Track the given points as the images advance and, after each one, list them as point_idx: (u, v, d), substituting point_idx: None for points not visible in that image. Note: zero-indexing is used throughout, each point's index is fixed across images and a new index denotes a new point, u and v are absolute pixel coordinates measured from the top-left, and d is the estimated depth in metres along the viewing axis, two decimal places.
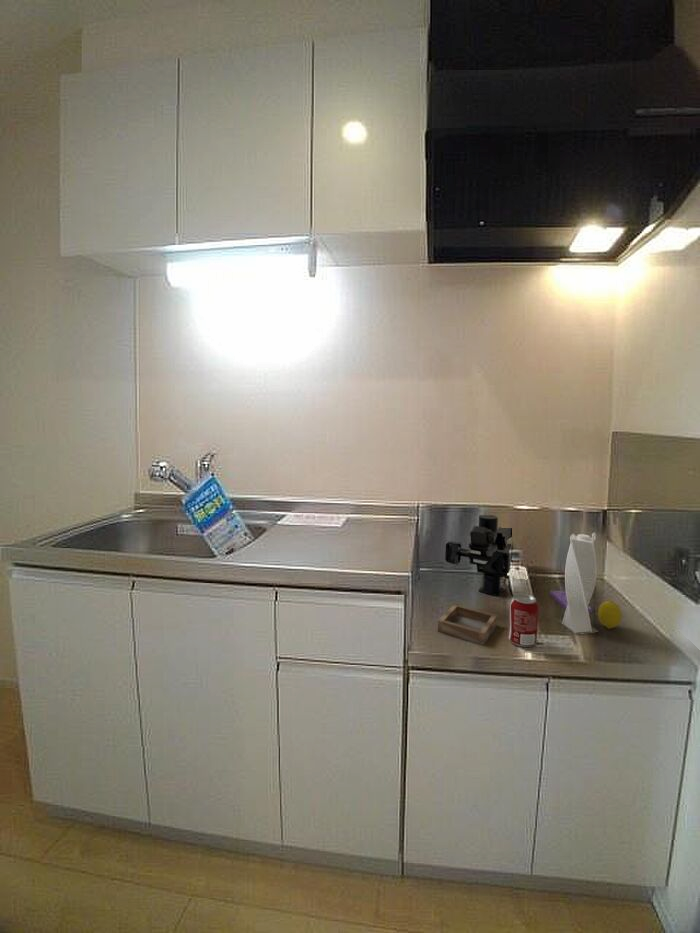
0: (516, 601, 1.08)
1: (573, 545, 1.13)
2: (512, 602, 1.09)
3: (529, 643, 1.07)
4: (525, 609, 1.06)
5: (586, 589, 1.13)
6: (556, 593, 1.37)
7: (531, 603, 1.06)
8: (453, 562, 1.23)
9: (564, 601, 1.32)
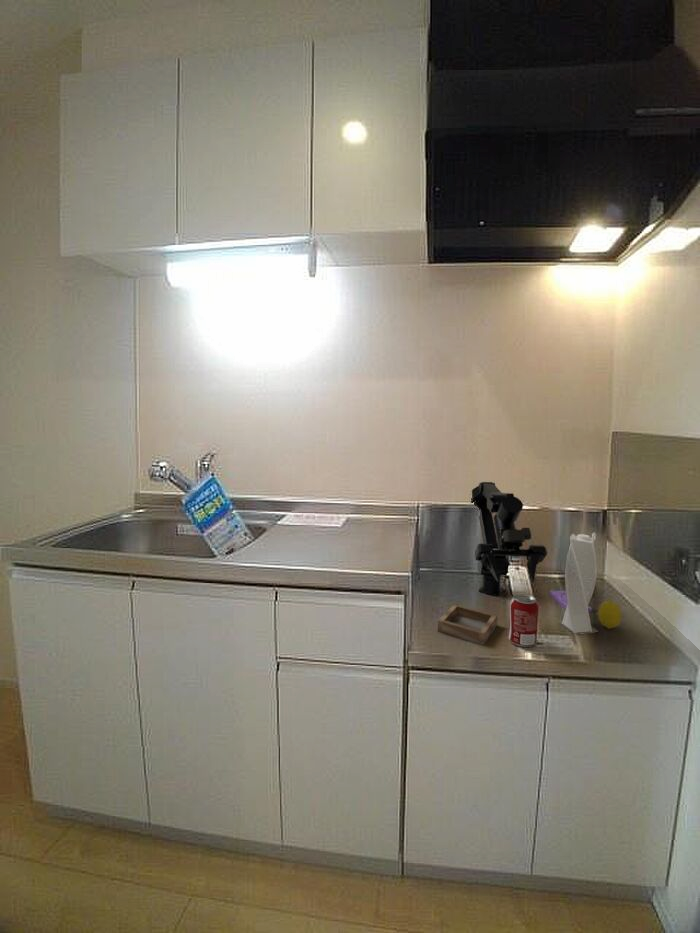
0: (516, 601, 1.08)
1: (573, 545, 1.13)
2: (512, 602, 1.09)
3: (529, 643, 1.07)
4: (525, 609, 1.06)
5: (586, 589, 1.13)
6: (556, 593, 1.37)
7: (531, 603, 1.06)
8: None
9: (564, 601, 1.32)
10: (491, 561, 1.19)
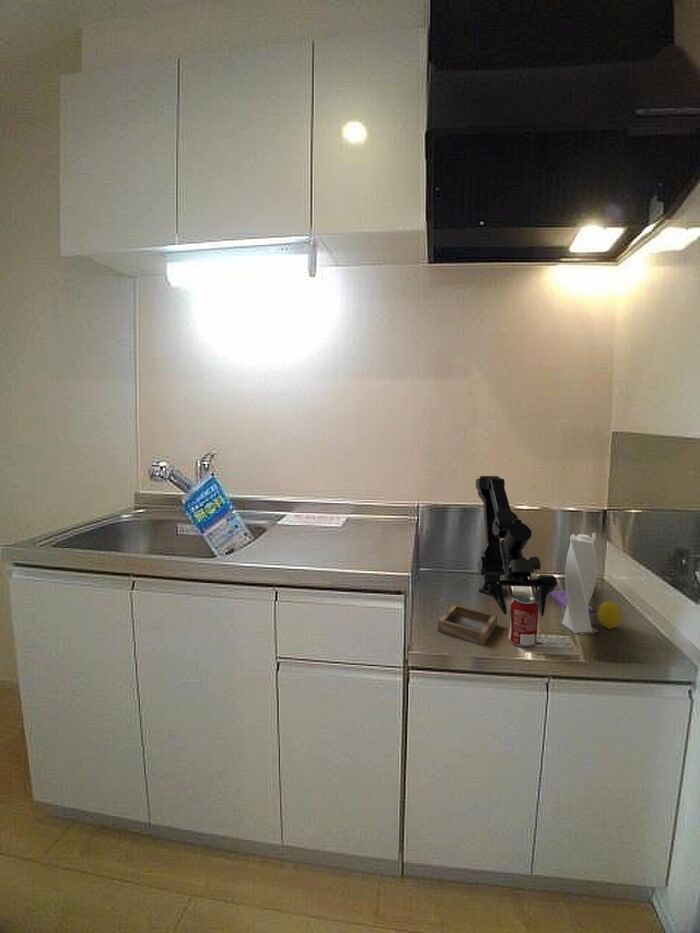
0: (516, 601, 1.08)
1: (573, 545, 1.13)
2: (512, 602, 1.09)
3: (529, 643, 1.07)
4: (525, 609, 1.06)
5: (586, 589, 1.13)
6: (555, 593, 1.37)
7: (531, 603, 1.06)
8: None
9: (564, 601, 1.32)
10: (498, 592, 1.11)
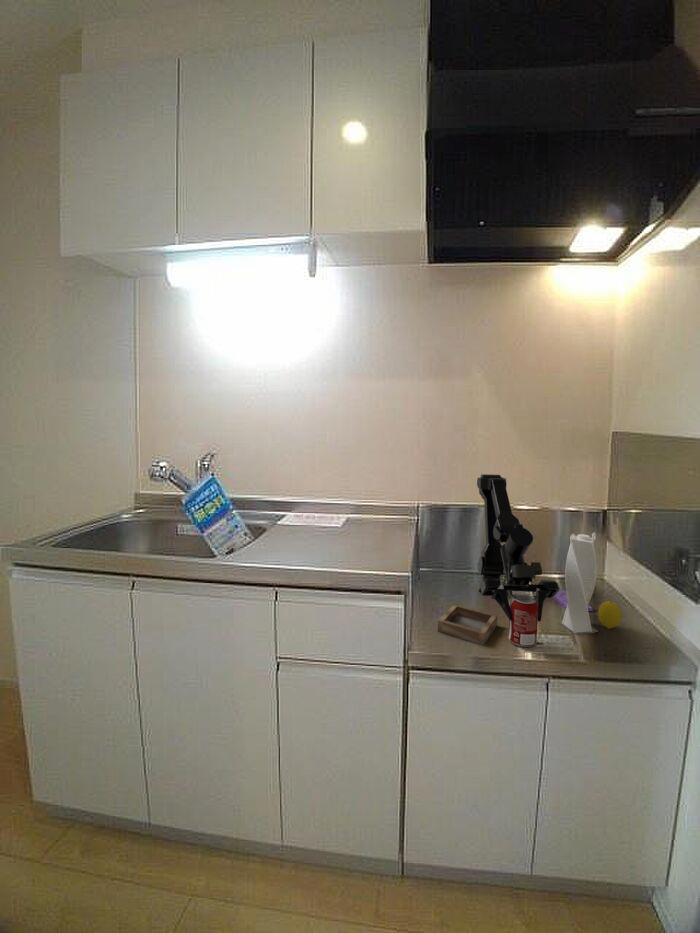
0: (516, 600, 1.08)
1: (573, 545, 1.13)
2: (512, 602, 1.09)
3: (529, 643, 1.07)
4: (525, 609, 1.06)
5: (586, 589, 1.13)
6: None
7: (531, 603, 1.06)
8: None
9: (565, 601, 1.31)
10: (503, 598, 1.10)
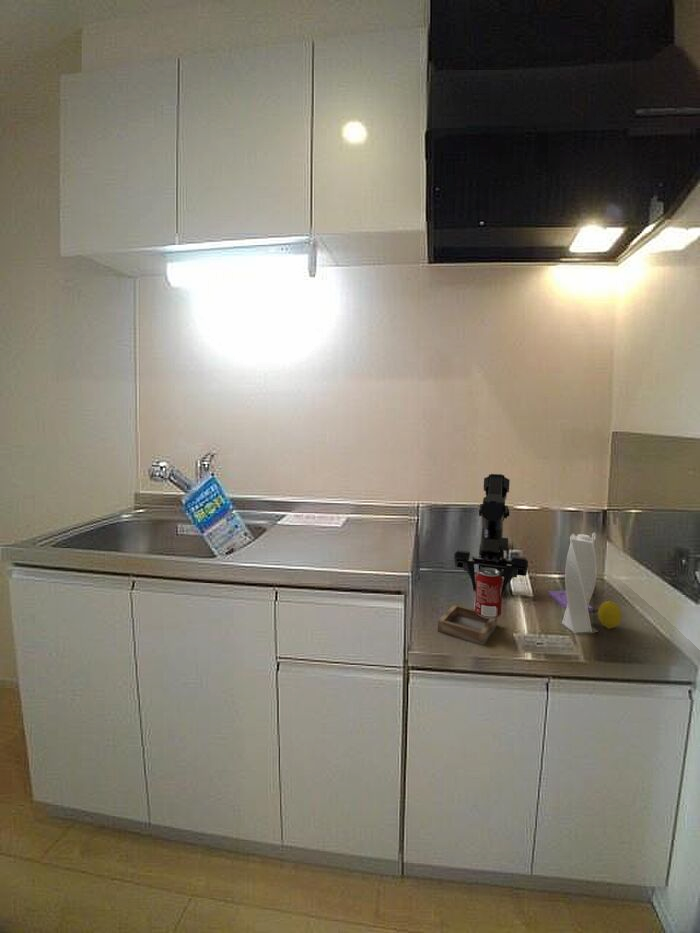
0: (479, 573, 1.12)
1: (573, 545, 1.13)
2: (477, 574, 1.13)
3: (489, 614, 1.10)
4: (485, 581, 1.09)
5: (586, 589, 1.13)
6: (555, 593, 1.37)
7: (492, 576, 1.09)
8: None
9: (565, 601, 1.31)
10: (470, 570, 1.15)
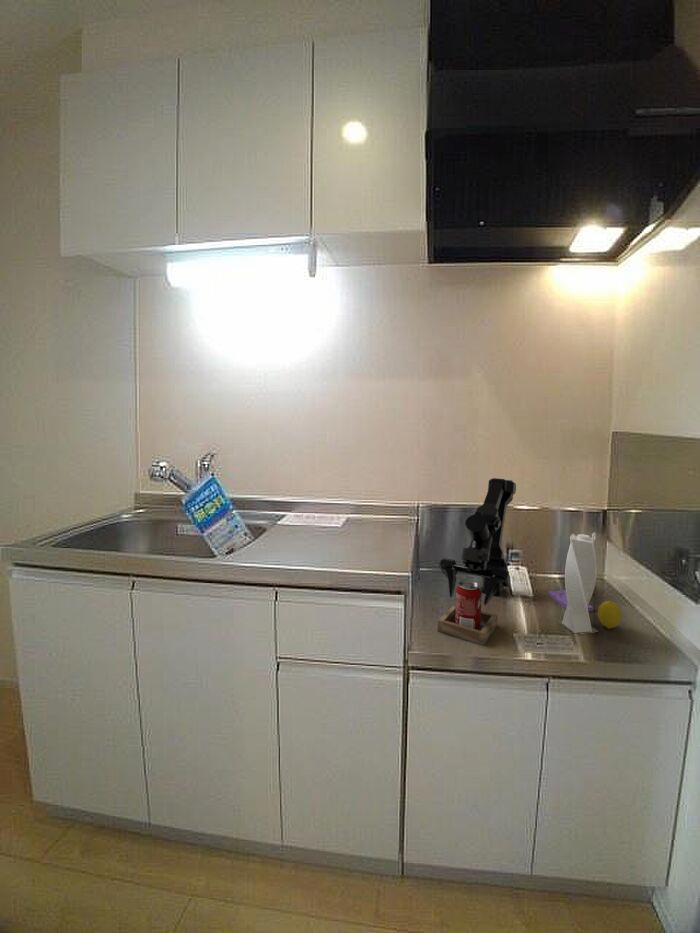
0: (459, 585, 1.16)
1: (573, 545, 1.13)
2: None
3: (466, 626, 1.14)
4: (462, 593, 1.14)
5: (586, 589, 1.13)
6: (554, 593, 1.37)
7: (469, 589, 1.13)
8: (452, 593, 1.18)
9: (565, 601, 1.31)
10: (449, 577, 1.20)
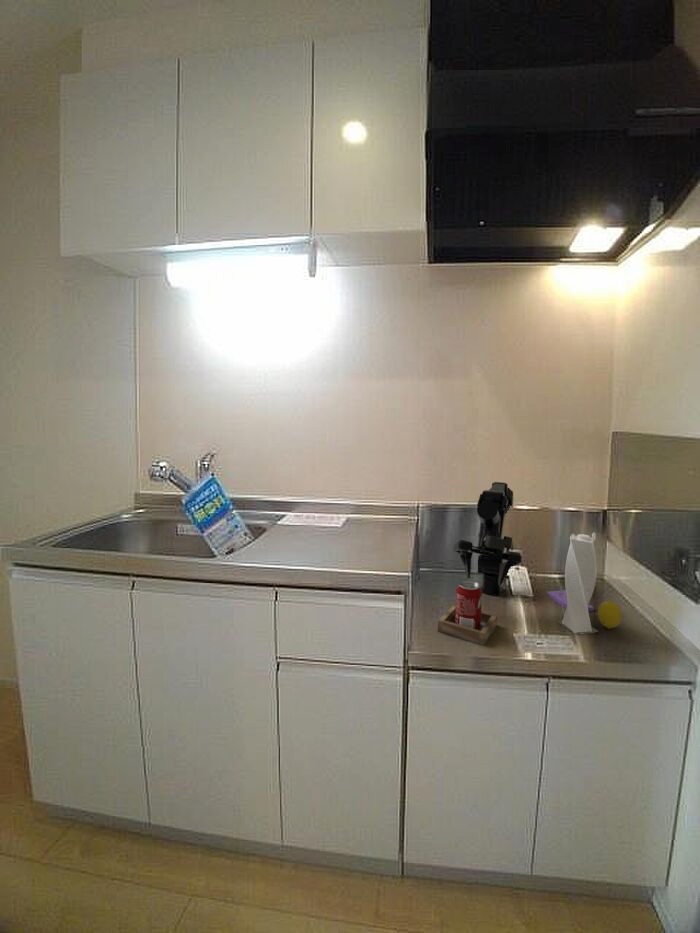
0: (459, 585, 1.16)
1: (573, 545, 1.13)
2: (458, 586, 1.17)
3: (466, 626, 1.14)
4: (463, 593, 1.14)
5: (586, 589, 1.13)
6: (554, 594, 1.37)
7: (470, 589, 1.13)
8: None
9: (566, 602, 1.31)
10: (467, 559, 1.24)
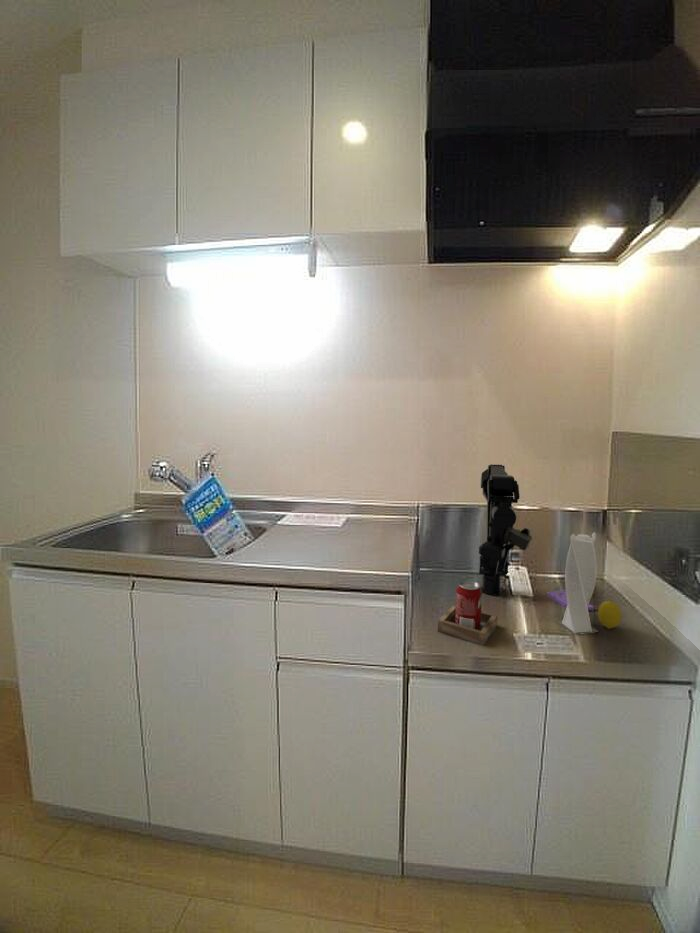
0: (459, 585, 1.16)
1: (573, 545, 1.13)
2: (458, 586, 1.17)
3: (466, 626, 1.14)
4: (463, 593, 1.14)
5: (586, 589, 1.13)
6: (554, 594, 1.37)
7: (470, 589, 1.13)
8: None
9: (566, 602, 1.31)
10: (498, 562, 1.18)
